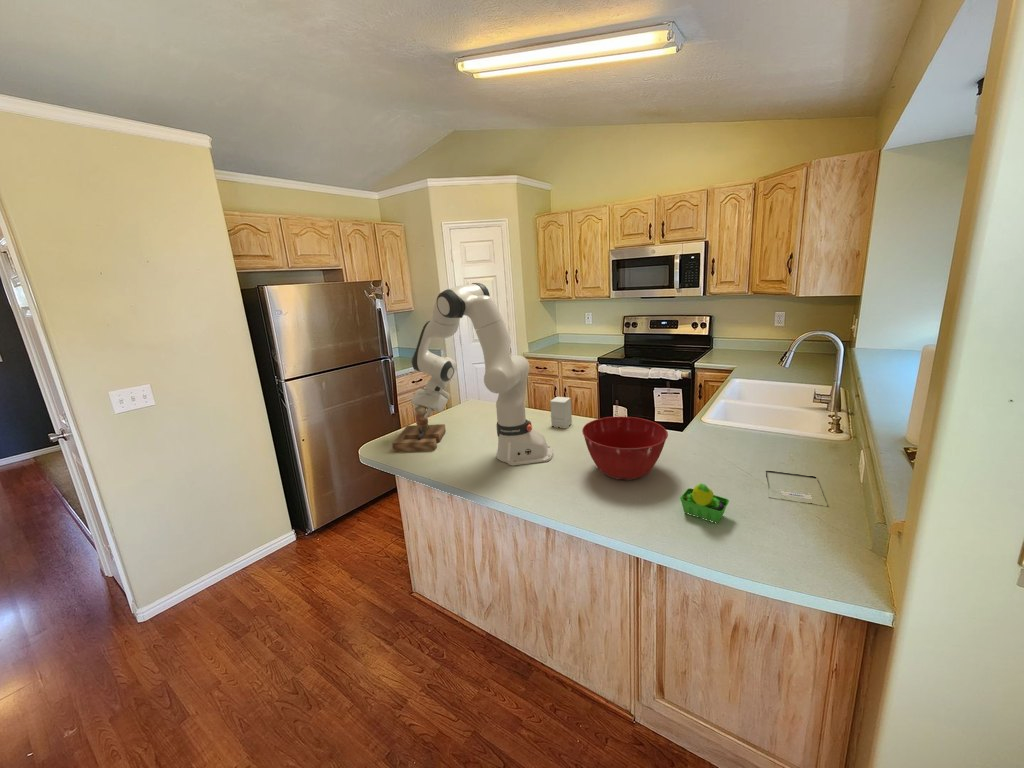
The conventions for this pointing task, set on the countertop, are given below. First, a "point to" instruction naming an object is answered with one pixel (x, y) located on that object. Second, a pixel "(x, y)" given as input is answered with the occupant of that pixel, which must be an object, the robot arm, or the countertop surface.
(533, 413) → the countertop surface
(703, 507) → the fruit basket
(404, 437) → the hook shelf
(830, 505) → the countertop surface
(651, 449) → the mixing bowl
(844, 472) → the countertop surface
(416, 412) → the cord spool
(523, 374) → the robot arm
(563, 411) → the supplement box
